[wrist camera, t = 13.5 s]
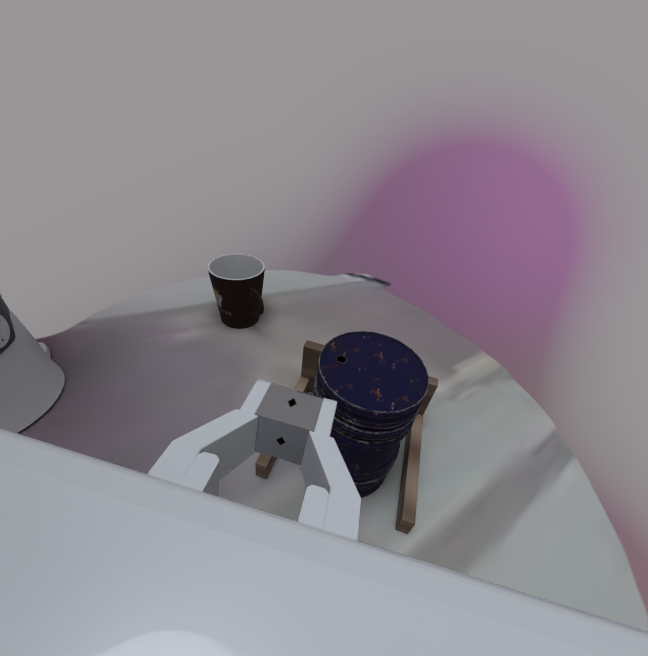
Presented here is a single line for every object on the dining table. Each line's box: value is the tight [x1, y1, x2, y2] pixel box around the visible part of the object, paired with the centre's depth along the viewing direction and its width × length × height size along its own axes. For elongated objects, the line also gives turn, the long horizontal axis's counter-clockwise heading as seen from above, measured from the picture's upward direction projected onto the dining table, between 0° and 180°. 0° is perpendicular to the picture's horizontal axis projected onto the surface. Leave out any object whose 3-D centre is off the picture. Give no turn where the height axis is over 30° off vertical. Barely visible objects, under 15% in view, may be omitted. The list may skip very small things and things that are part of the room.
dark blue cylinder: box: [313, 331, 429, 498], centre depth 31 cm, size 10×10×15 cm
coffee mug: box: [207, 254, 265, 329], centre depth 50 cm, size 12×9×10 cm
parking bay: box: [256, 340, 438, 534], centre depth 35 cm, size 14×16×8 cm
